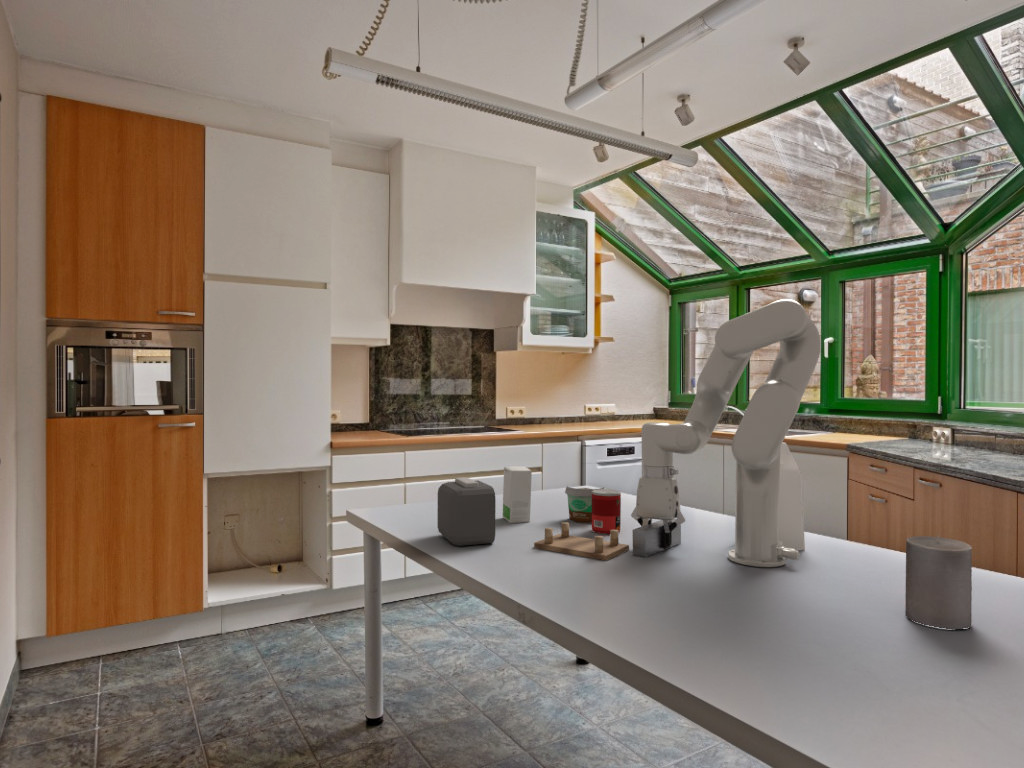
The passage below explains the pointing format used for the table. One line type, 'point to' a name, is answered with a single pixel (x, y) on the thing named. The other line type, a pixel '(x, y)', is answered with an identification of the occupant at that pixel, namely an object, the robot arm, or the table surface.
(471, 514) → the alarm clock
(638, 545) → the steel bar
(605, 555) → the rack
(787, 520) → the milk
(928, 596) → the pillar candle
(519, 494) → the skincare box
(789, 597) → the table surface
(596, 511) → the canned food
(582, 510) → the food container
